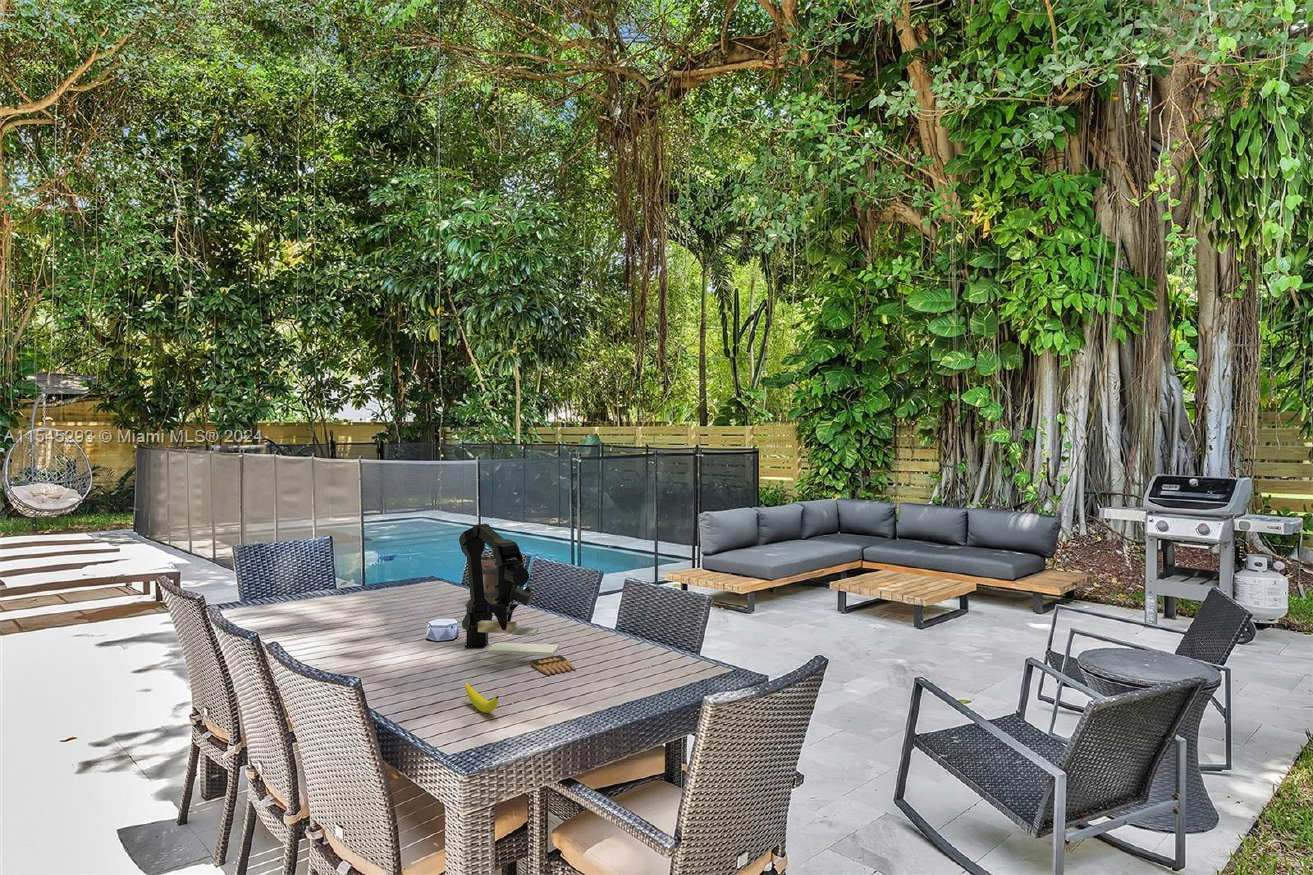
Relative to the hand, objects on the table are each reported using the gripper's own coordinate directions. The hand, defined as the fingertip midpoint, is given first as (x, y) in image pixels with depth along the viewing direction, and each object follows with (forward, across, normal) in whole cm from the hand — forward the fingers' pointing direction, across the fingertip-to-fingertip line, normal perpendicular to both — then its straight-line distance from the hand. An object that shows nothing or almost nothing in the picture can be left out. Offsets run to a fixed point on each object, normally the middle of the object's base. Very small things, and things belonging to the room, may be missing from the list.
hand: (505, 628), depth 248 cm
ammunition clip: (+9, -2, -14) cm, 16 cm away
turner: (+1, 0, -1) cm, 1 cm away
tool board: (+10, +11, -3) cm, 16 cm away
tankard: (+11, +72, +30) cm, 79 cm away
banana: (+10, -43, -7) cm, 45 cm away
